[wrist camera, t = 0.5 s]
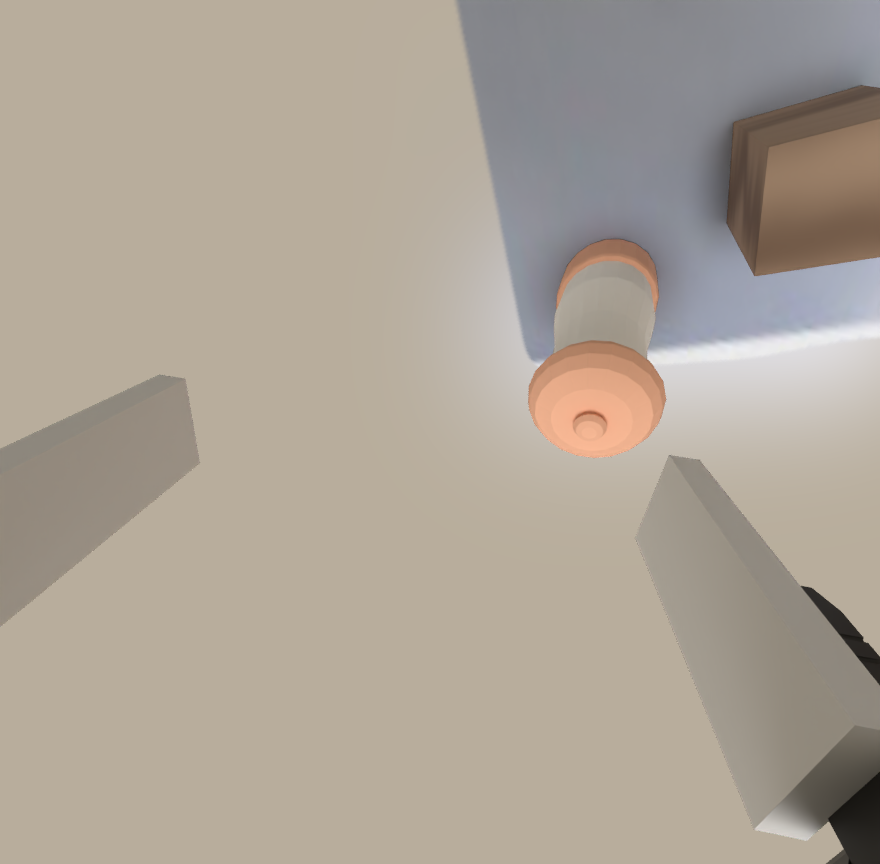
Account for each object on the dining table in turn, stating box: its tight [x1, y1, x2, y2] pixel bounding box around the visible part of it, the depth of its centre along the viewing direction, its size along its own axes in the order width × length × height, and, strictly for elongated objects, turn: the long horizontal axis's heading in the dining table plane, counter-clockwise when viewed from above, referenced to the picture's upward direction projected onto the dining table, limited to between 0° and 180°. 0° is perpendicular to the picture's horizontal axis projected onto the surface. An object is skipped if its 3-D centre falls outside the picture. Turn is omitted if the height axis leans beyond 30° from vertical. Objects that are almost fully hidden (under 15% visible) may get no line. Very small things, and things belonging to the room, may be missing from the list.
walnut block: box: [727, 85, 880, 276], centre depth 24 cm, size 6×6×10 cm
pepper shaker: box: [528, 239, 666, 458], centre depth 28 cm, size 7×7×19 cm
